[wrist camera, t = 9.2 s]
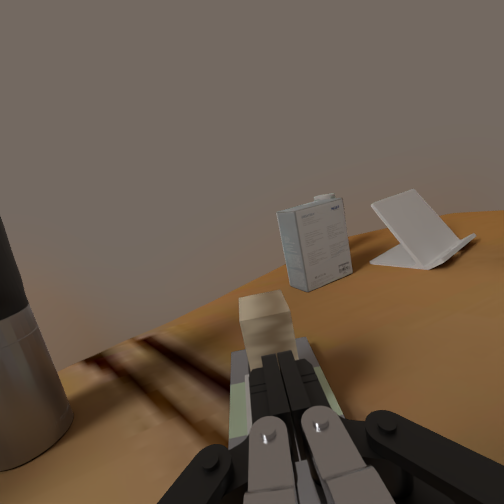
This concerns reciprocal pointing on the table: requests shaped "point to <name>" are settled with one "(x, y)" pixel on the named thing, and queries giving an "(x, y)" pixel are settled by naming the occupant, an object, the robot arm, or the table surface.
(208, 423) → the table surface
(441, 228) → the tablet stand
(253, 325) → the maple block
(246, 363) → the track
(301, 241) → the hard drive box
